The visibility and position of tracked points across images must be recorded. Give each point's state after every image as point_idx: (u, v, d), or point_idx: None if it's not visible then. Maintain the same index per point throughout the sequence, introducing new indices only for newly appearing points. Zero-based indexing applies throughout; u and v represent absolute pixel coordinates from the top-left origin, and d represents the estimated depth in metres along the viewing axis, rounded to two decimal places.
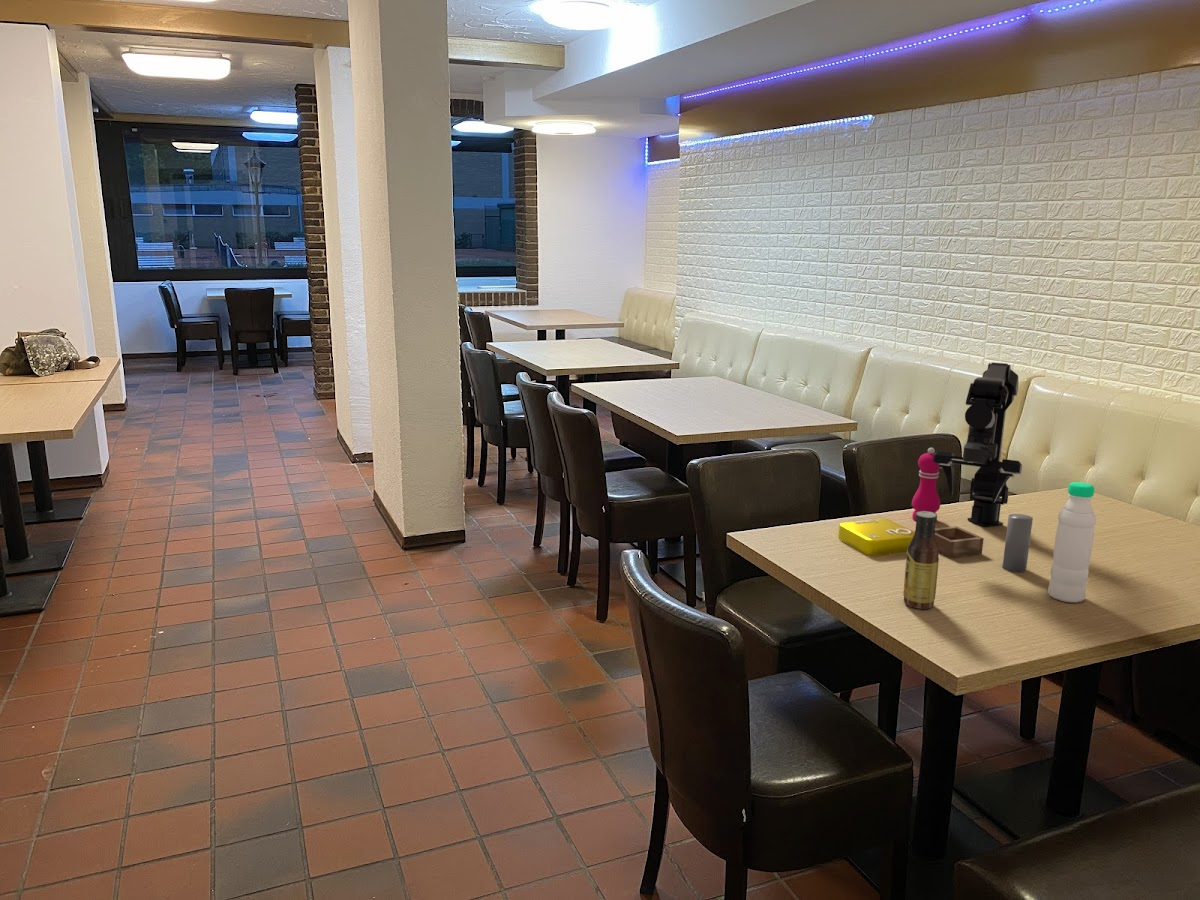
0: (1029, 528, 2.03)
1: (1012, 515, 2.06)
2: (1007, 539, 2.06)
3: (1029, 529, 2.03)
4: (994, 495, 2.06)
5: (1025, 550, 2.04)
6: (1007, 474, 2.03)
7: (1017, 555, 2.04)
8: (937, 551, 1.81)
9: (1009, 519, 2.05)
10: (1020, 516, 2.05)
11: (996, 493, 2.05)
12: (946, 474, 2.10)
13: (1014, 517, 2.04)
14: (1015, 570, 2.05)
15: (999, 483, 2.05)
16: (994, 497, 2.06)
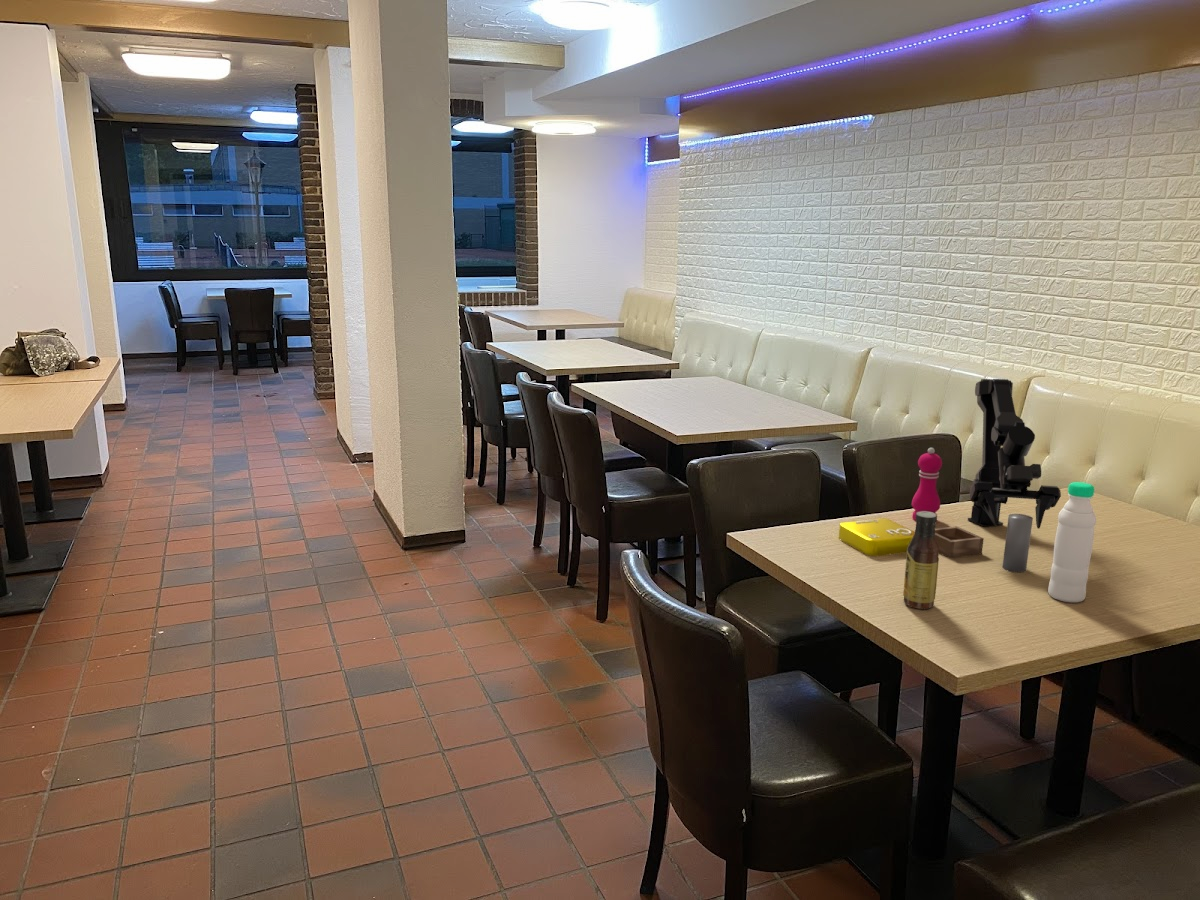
0: (1029, 528, 2.03)
1: (1012, 515, 2.06)
2: (1007, 539, 2.06)
3: (1029, 529, 2.03)
4: (1039, 519, 2.06)
5: (1025, 550, 2.04)
6: (1050, 496, 2.07)
7: (1017, 555, 2.04)
8: (937, 551, 1.81)
9: (1009, 519, 2.05)
10: (1020, 516, 2.05)
11: (1041, 517, 2.06)
12: (989, 502, 2.10)
13: (1014, 517, 2.04)
14: (1015, 570, 2.05)
15: (1042, 507, 2.07)
16: (1040, 521, 2.06)
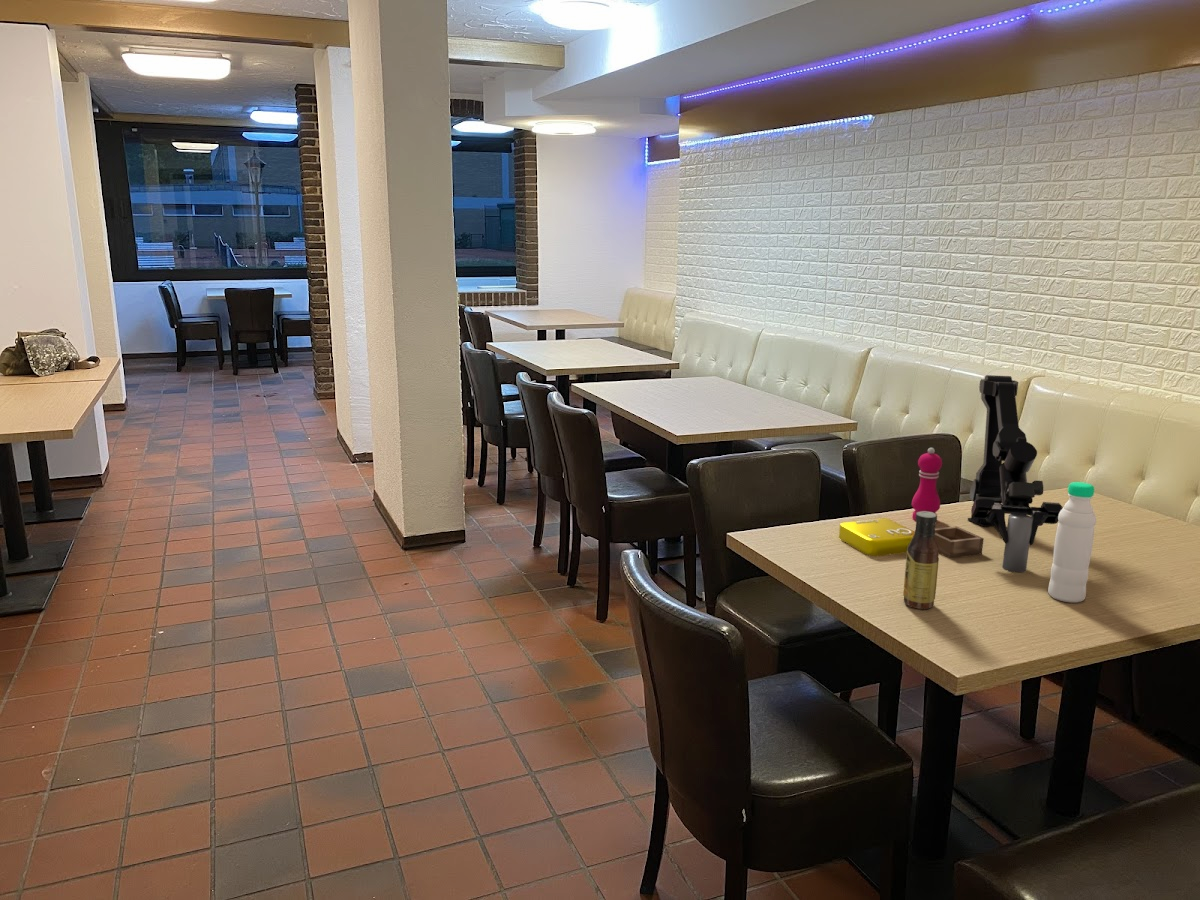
0: (1029, 528, 2.03)
1: (1012, 515, 2.06)
2: None
3: (1029, 529, 2.03)
4: (1032, 536, 2.04)
5: (1025, 550, 2.04)
6: (1043, 513, 2.05)
7: (1017, 555, 2.04)
8: (937, 551, 1.81)
9: (1009, 519, 2.05)
10: (1020, 516, 2.05)
11: (1034, 534, 2.04)
12: (999, 519, 2.07)
13: (1014, 517, 2.04)
14: (1015, 570, 2.05)
15: (1035, 524, 2.05)
16: (1032, 538, 2.04)
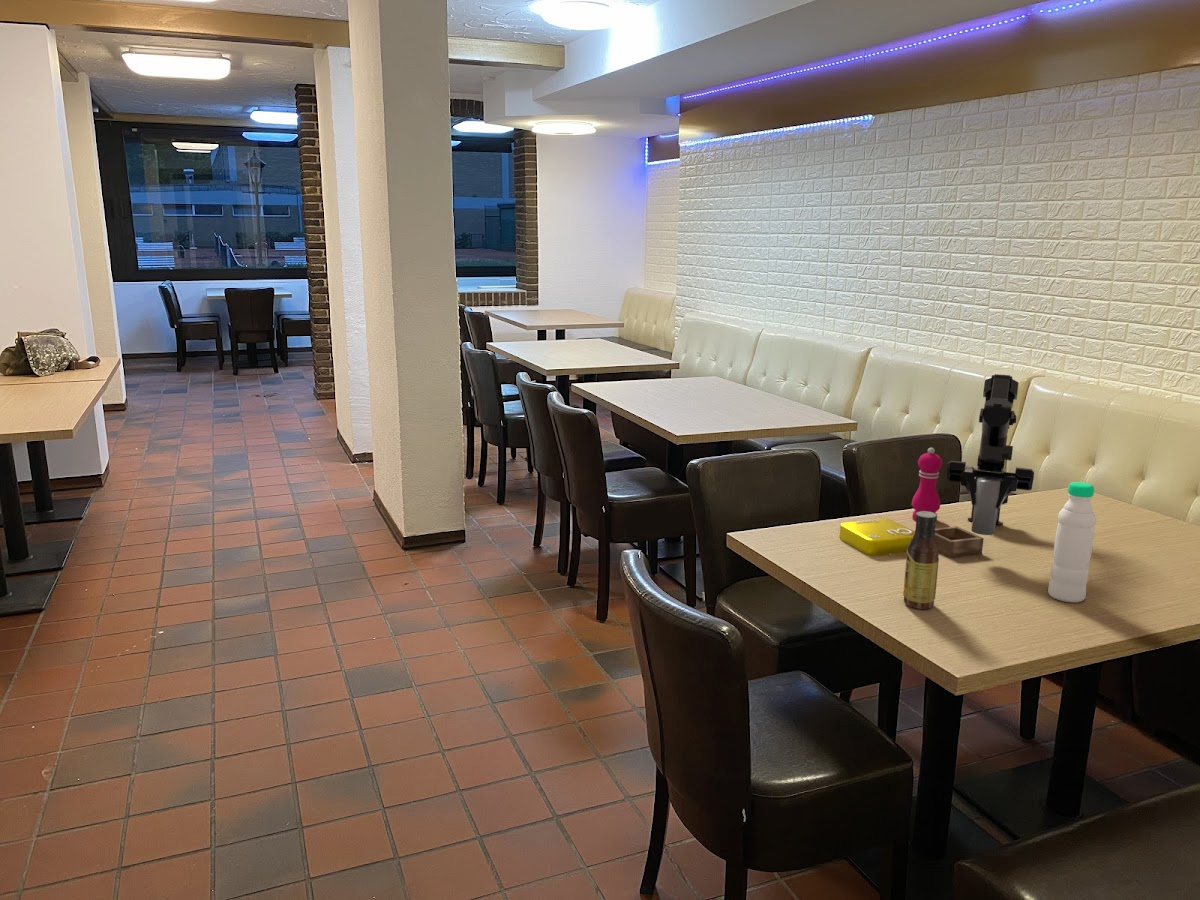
0: (995, 491, 2.07)
1: (981, 478, 2.10)
2: (975, 502, 2.10)
3: (995, 492, 2.07)
4: (999, 500, 2.08)
5: (991, 513, 2.08)
6: (1012, 478, 2.08)
7: (983, 517, 2.09)
8: (937, 551, 1.81)
9: (977, 482, 2.09)
10: (989, 480, 2.09)
11: (1001, 498, 2.08)
12: (969, 482, 2.12)
13: (981, 480, 2.09)
14: (981, 532, 2.10)
15: (1004, 488, 2.08)
16: (999, 502, 2.08)
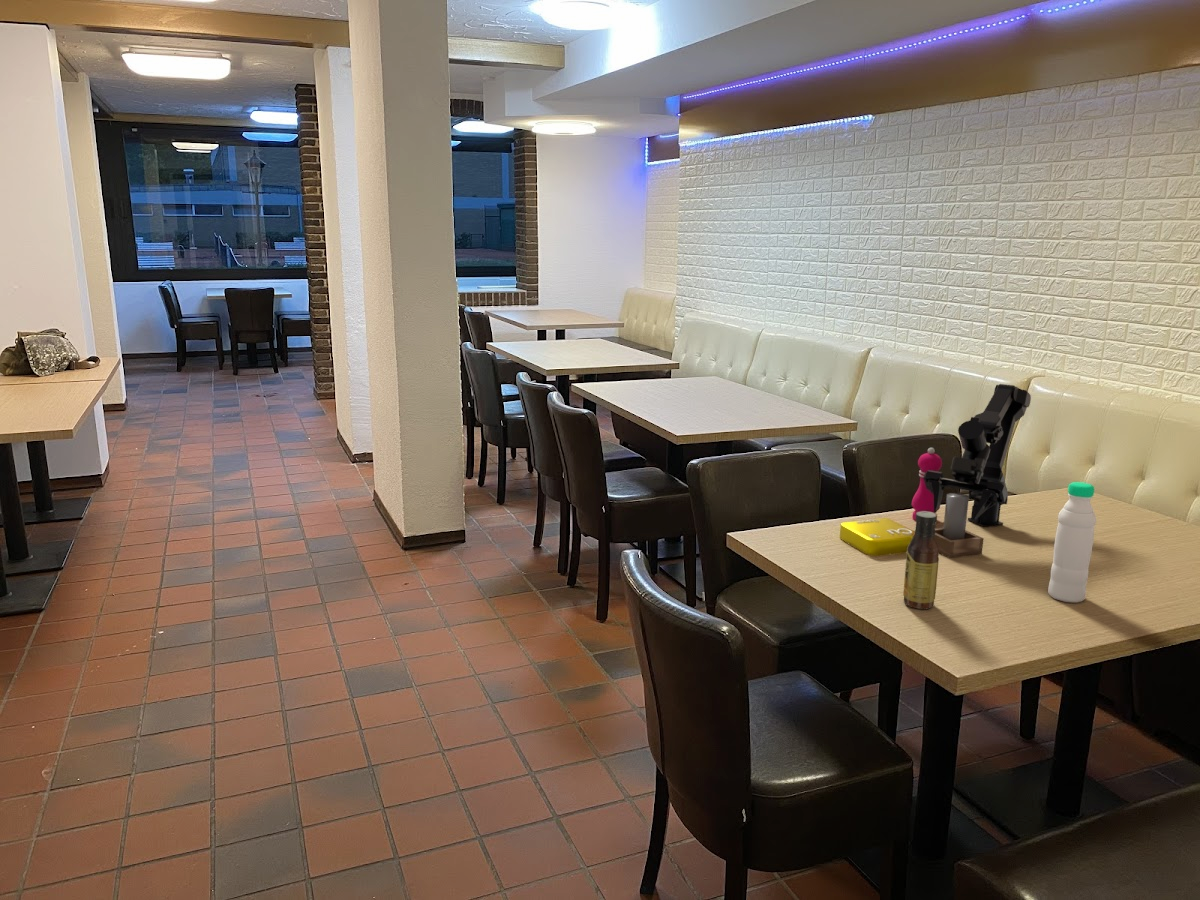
0: (961, 506, 2.15)
1: (952, 494, 2.18)
2: None
3: (961, 507, 2.15)
4: (976, 511, 2.14)
5: (958, 527, 2.16)
6: (990, 491, 2.13)
7: (950, 531, 2.17)
8: (937, 551, 1.81)
9: (946, 497, 2.18)
10: (958, 495, 2.17)
11: (978, 510, 2.14)
12: (934, 490, 2.21)
13: (950, 495, 2.17)
14: None
15: (982, 500, 2.14)
16: (975, 513, 2.14)
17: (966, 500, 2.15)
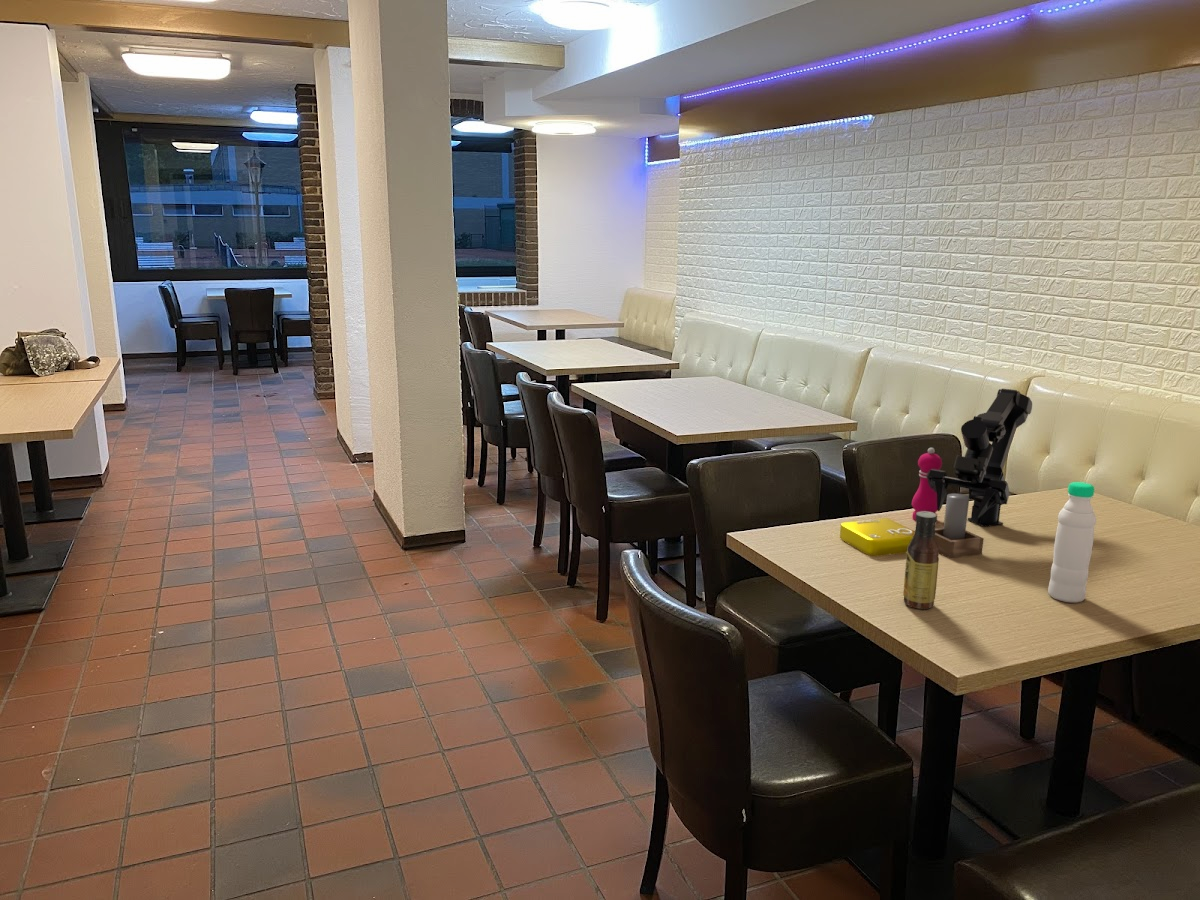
0: (962, 507, 2.15)
1: (952, 494, 2.18)
2: None
3: (962, 508, 2.15)
4: (979, 510, 2.16)
5: (958, 528, 2.16)
6: (993, 489, 2.15)
7: (950, 532, 2.17)
8: (937, 551, 1.81)
9: None
10: (959, 496, 2.17)
11: (981, 508, 2.16)
12: (937, 489, 2.23)
13: (951, 495, 2.17)
14: None
15: (985, 499, 2.16)
16: (978, 512, 2.16)
17: (966, 501, 2.15)
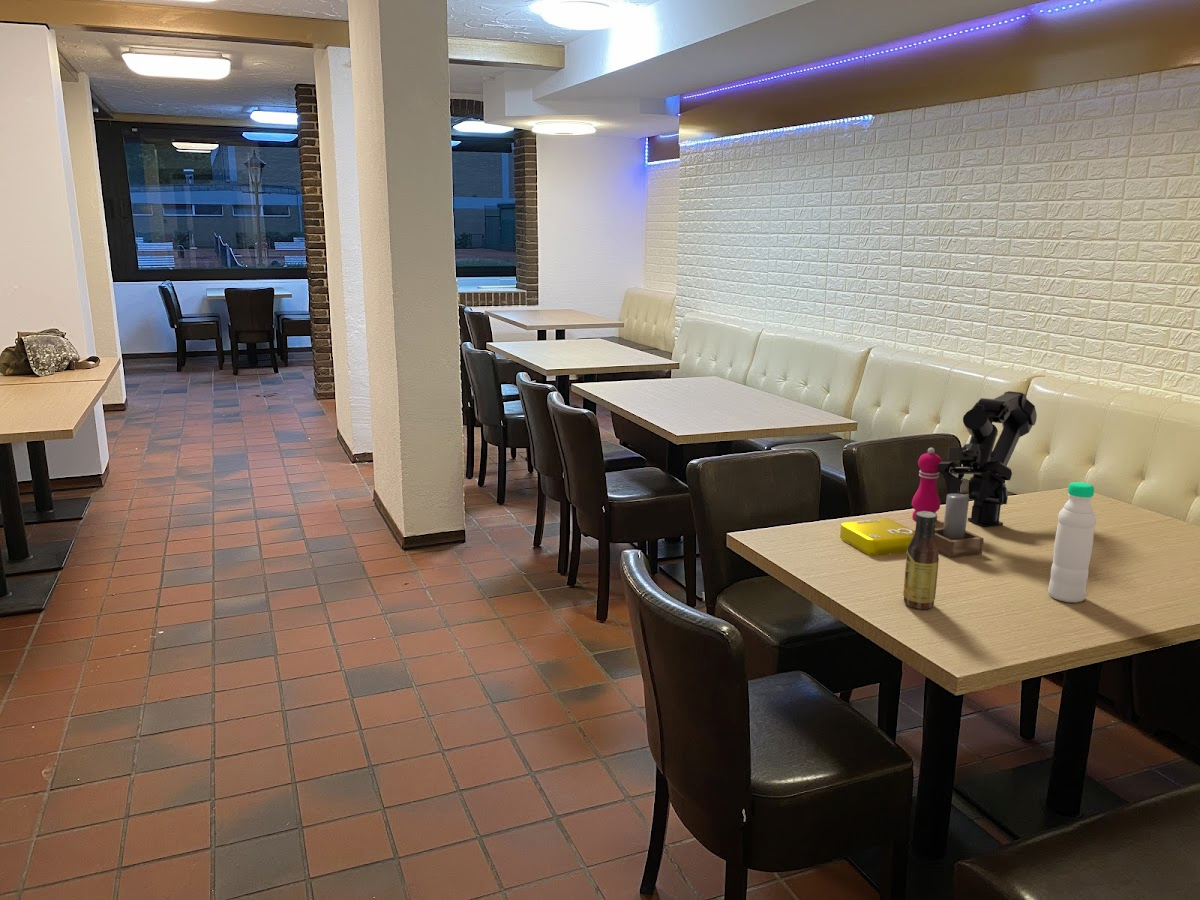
0: (961, 507, 2.15)
1: (952, 494, 2.18)
2: None
3: (962, 508, 2.15)
4: (979, 495, 2.20)
5: (958, 528, 2.16)
6: (987, 473, 2.18)
7: (950, 532, 2.17)
8: (937, 551, 1.81)
9: None
10: (958, 496, 2.17)
11: (980, 493, 2.20)
12: (946, 481, 2.30)
13: (950, 495, 2.17)
14: None
15: (983, 483, 2.20)
16: (979, 497, 2.20)
17: (966, 501, 2.15)
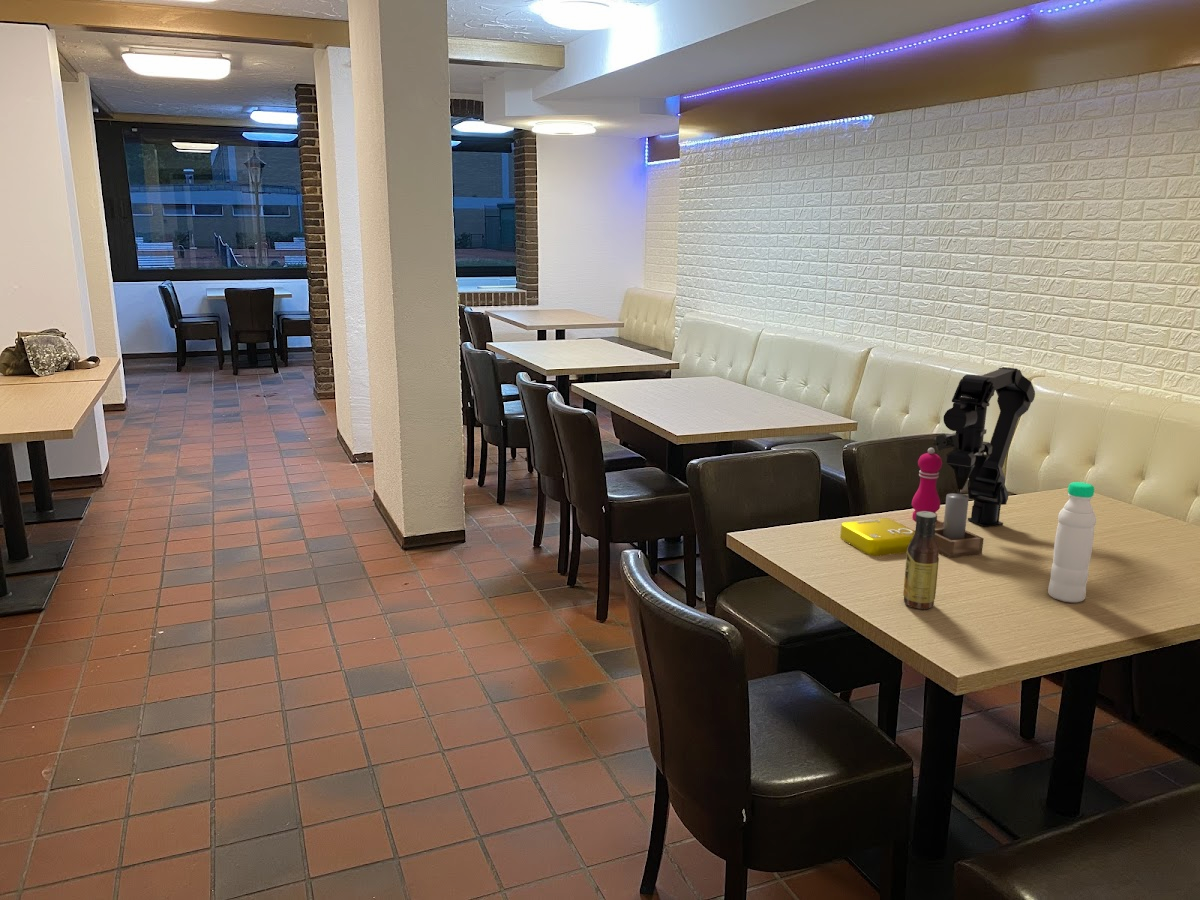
0: (961, 507, 2.15)
1: (951, 494, 2.18)
2: (944, 516, 2.19)
3: (961, 508, 2.15)
4: None
5: (958, 527, 2.16)
6: None
7: (949, 532, 2.17)
8: (937, 551, 1.81)
9: None
10: (958, 496, 2.17)
11: None
12: None
13: (950, 495, 2.17)
14: None
15: None
16: None
17: (966, 501, 2.15)
